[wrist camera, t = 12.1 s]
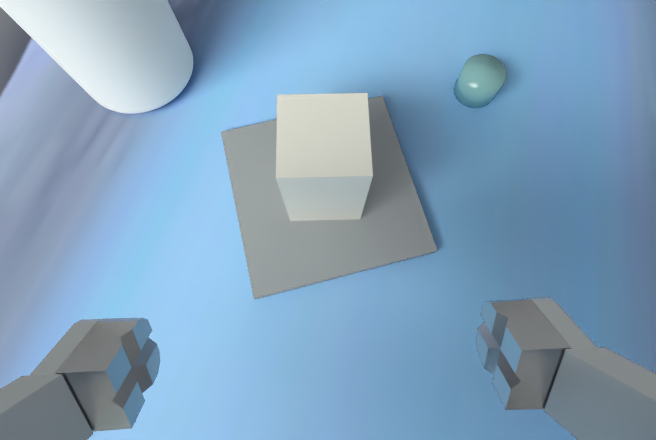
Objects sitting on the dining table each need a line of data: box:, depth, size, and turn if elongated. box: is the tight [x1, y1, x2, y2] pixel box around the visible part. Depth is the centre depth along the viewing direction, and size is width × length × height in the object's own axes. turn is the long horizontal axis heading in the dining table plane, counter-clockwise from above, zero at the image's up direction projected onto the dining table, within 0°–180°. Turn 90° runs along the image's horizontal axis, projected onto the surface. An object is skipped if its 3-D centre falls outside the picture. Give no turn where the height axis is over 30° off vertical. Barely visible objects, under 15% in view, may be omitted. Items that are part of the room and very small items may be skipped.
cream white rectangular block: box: [276, 93, 373, 221], centre depth 21 cm, size 5×5×7 cm
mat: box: [221, 96, 437, 299], centre depth 25 cm, size 12×12×1 cm
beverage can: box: [0, 0, 193, 113], centre depth 22 cm, size 8×8×12 cm
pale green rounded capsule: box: [454, 54, 507, 108], centre depth 26 cm, size 3×3×2 cm
